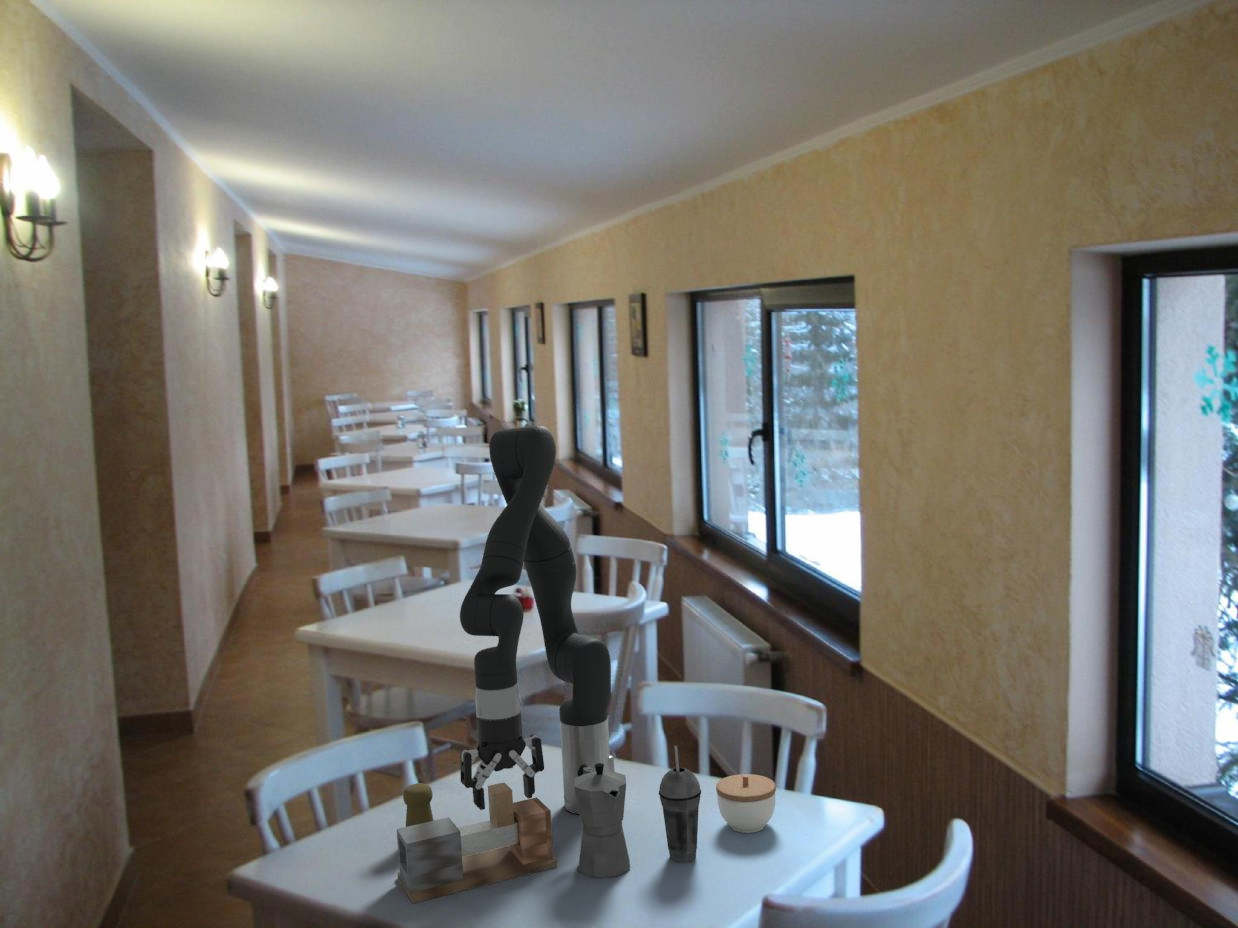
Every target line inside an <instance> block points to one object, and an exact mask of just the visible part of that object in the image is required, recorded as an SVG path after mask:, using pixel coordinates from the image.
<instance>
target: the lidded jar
mask: <svg viewBox="0 0 1238 928" xmlns="http://www.w3.org/2000/svg"><path fill="white" fill-rule="evenodd" d="M776 786H777V785H776V782H774V780H772V779H771V778H769V777H766V776H763V775H759V774H752V773H751V774H749V773H742V774H741V773H740V774H733V775H729V776H725V777H723V778H721V779H720V780H718V781H717V783H716V786H715V788H716V789H715V790H716V798H717V800H716V801H717V805H718V809H719V813H720V815H721V817H722V819H723V820H724V822H725V823H727V824H728V826H730V828H731V829H732V830H733V831H734V832H737V833H741V834H753V833H758V832H760V831H762V830H764V828H765V826H766V825H768V823H769V822H770V820H771V819H772V817H773V814H774V812H775V807H776V791H777V789H776Z"/></svg>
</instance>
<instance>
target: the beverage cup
mask: <svg viewBox="0 0 1238 928" xmlns="http://www.w3.org/2000/svg"><path fill="white" fill-rule="evenodd" d="M673 749H674V756H675V757H674V758H675V767H673V768H672V769H670V770H668V771H667V772H666V773H665V774H664V775H663V776H662V778H661V781H660V785H659V789H658V795H659V799H660V803H661V804H660V805H661V807H662V812H663V820H664V826H665V827H664V828H665V834H666V836H665V837H666V843H667V850H668V853H669V858H670V859H669V860H671V861H672V862H674V863H677V864H688V863H691V862H694V860H696V859H697V850H698V831H699V830H698V829H699V807H700V802H701V794H702V789H701V786H700V782H699V779H698V778H697V776H696V775H695V774H694V772H692V771H691V770H689V769H688V768H685V767H680V764H679V763H680V762H679V751H678V745H674V747H673Z"/></svg>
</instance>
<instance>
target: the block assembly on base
mask: <svg viewBox="0 0 1238 928" xmlns="http://www.w3.org/2000/svg"><path fill="white" fill-rule="evenodd" d="M513 812H514V817H515V818H516V819H517V820H518V821H519V836H520V843H518V844H513V845H509V846H505V847H501V848H497V849H493V850H489V851H485V852H481V853H476V854H472V855H468V856H464V857H462V849H461V834H460V830H459V829H458V827H457V825H456V824H455V823H454V822H453V820H451V818H450V817H448V816H447V817H444V818H440V819H435V820H434V821H430V822H426V823H421V824H417V825H413V826H408V827H406V826H404V827H401V828H400V827H399V828H396V841H397V852H398V863H399V864H398V866H399V867H398V868H399V872H397V879H398V881H399V883H400V884H401V886H402V888H403V889H404V891H405V892H406V894H407V896H408V897H409V899H410V900H411V902H412V904H416V903H420V902H424V901H425V902H426V901H428V900H431V899H435V898H440V897H444V896H447V895H451V893H452V894H456V893H460V892H463V891H462V890H464V891H467V889H468V890H470V889H469V888H472V889H475V888H478V887H479V888H480V887H482V886H486V885H491V884H495V883H498V882H502V881H507V880H510V879H514V878H518V877H521V876H525V875H529V874H533V873H534V874H535V873H537V872H541V871H546V870H549V869H553V868H557V867H558V860H557V859H556V858H555V857H554V845H553V830H552V811H551V809H550V808H549V807H548V806H547V805H546V804H545V803H543V802H542V801H541V800H540V798H538V797H537V796H536V797H532V798H529V799H528V798H527V799H523V800H520V801H515V802H514V801H513ZM459 891H460V892H459Z"/></svg>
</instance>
